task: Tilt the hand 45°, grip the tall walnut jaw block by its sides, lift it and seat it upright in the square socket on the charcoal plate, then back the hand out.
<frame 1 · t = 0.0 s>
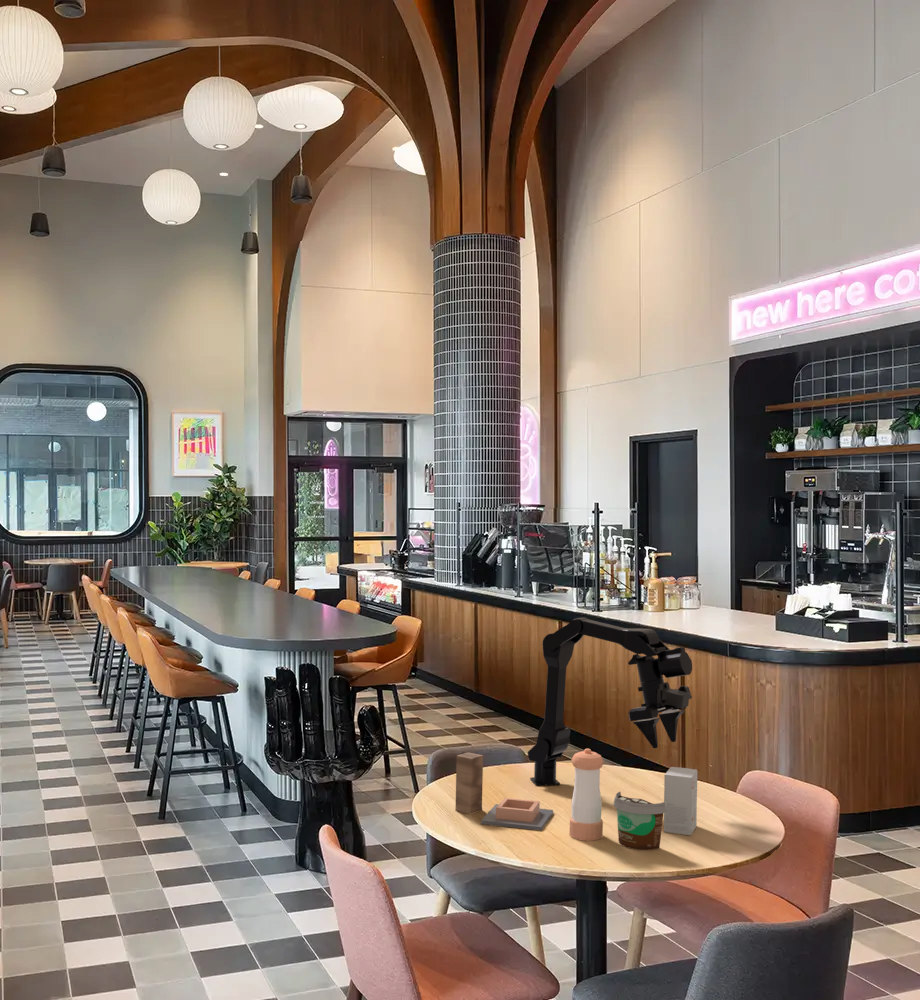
hand: (664, 744, 254), 15 cm above the table, tool pointing down, fingers open, 9 cm apart
walnut jaw block: (468, 810, 249), on the table
food container: (633, 846, 226), on the table
salt shaker: (585, 836, 232), on the table
jaw socket: (517, 818, 244), on the table
small box: (680, 829, 239), on the table
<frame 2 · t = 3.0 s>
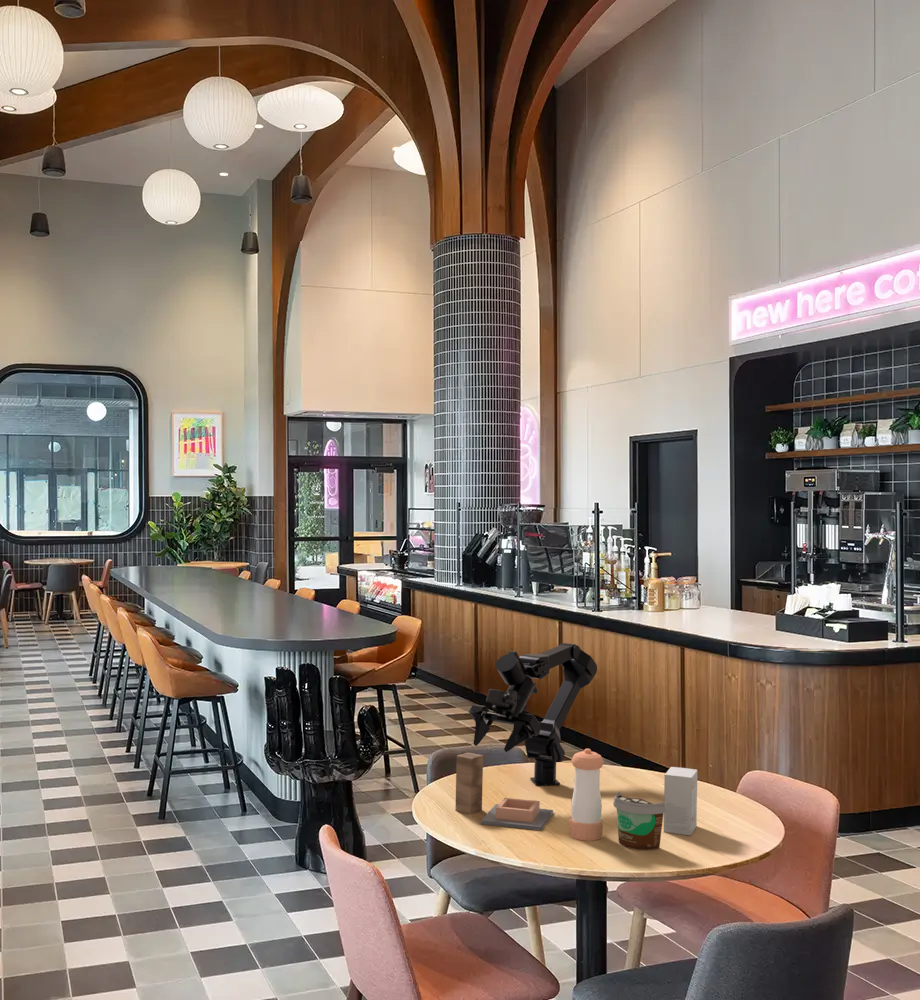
hand: (489, 747, 256), 13 cm above the table, tool tilted 45°, fingers open, 9 cm apart
nothing on the table moved.
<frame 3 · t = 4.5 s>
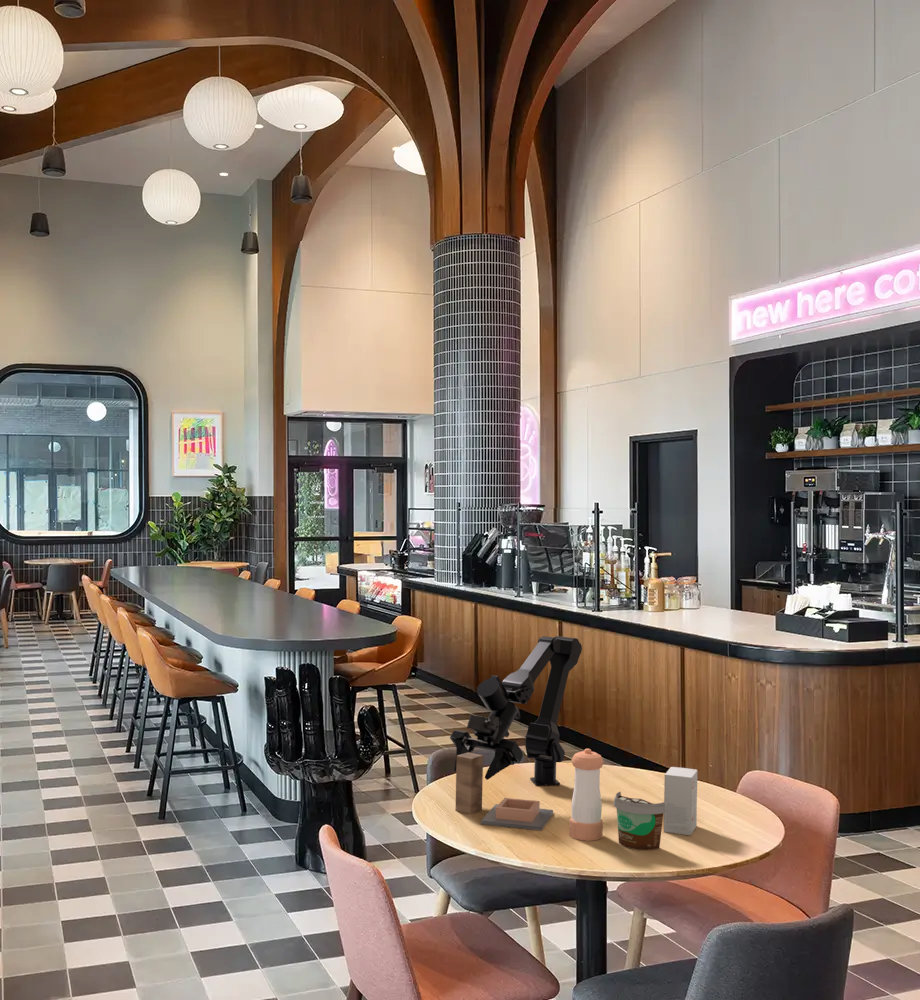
hand: (470, 775, 250), 8 cm above the table, tool tilted 45°, fingers open, 9 cm apart
nothing on the table moved.
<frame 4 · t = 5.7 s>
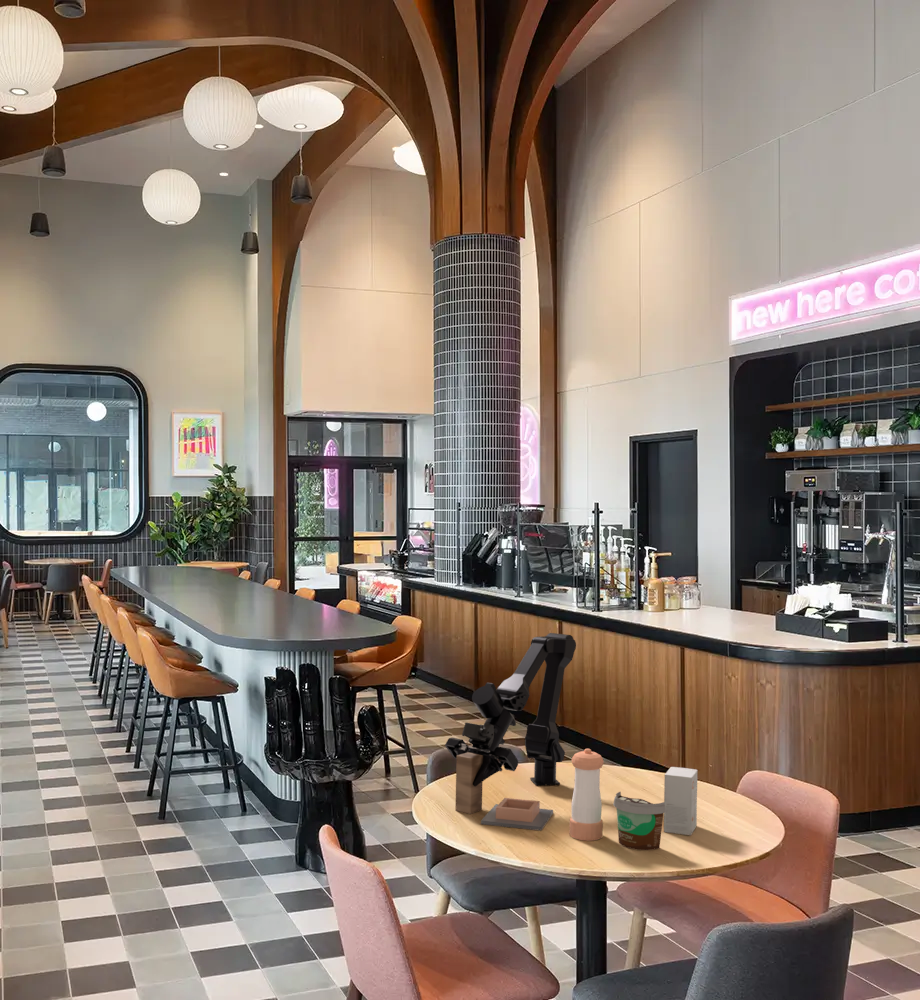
hand: (465, 783, 248), 7 cm above the table, tool tilted 45°, fingers closed on walnut jaw block, 4 cm apart
walnut jaw block: (468, 810, 249), on the table, touching gripper
everything else where it was.
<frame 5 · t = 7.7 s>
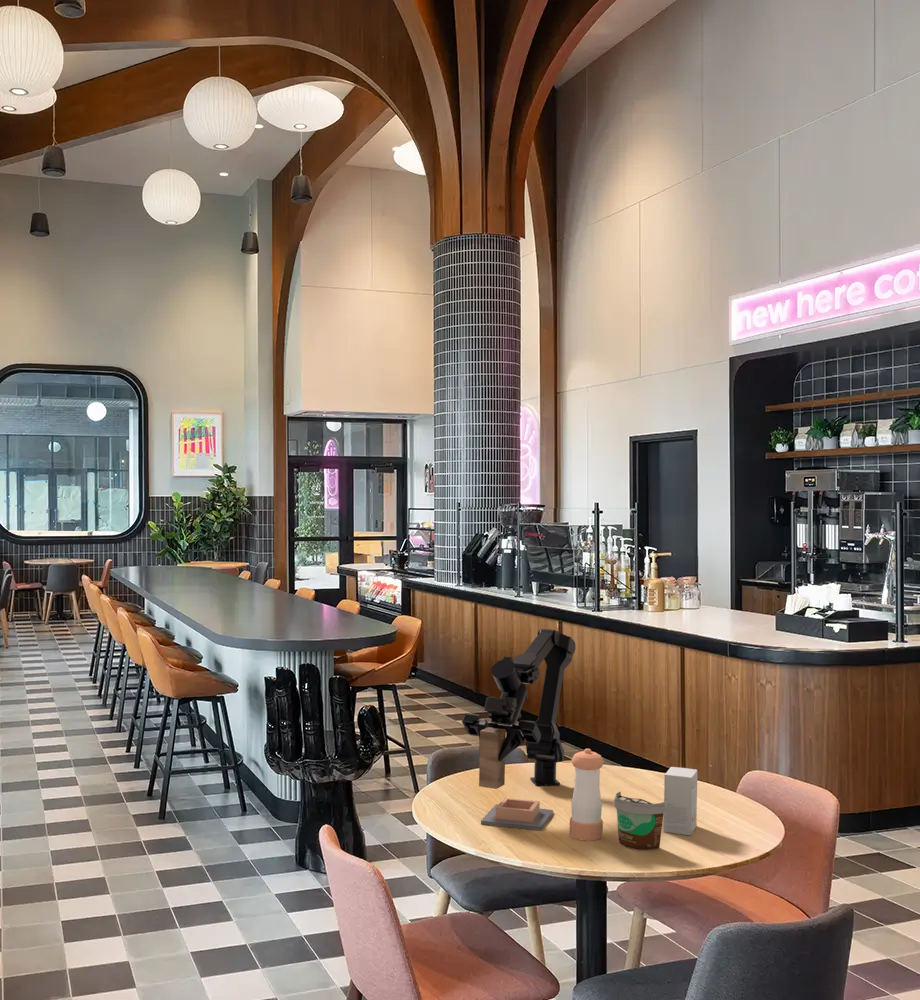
hand: (489, 758, 245), 13 cm above the table, tool tilted 45°, fingers closed on walnut jaw block, 4 cm apart
walnut jaw block: (491, 785, 246), point 7 cm above the table, touching gripper
everything else where it was.
when the fingers open (8 cm above the table, at t = 9.9 s): walnut jaw block stays where it is, resting on jaw socket.
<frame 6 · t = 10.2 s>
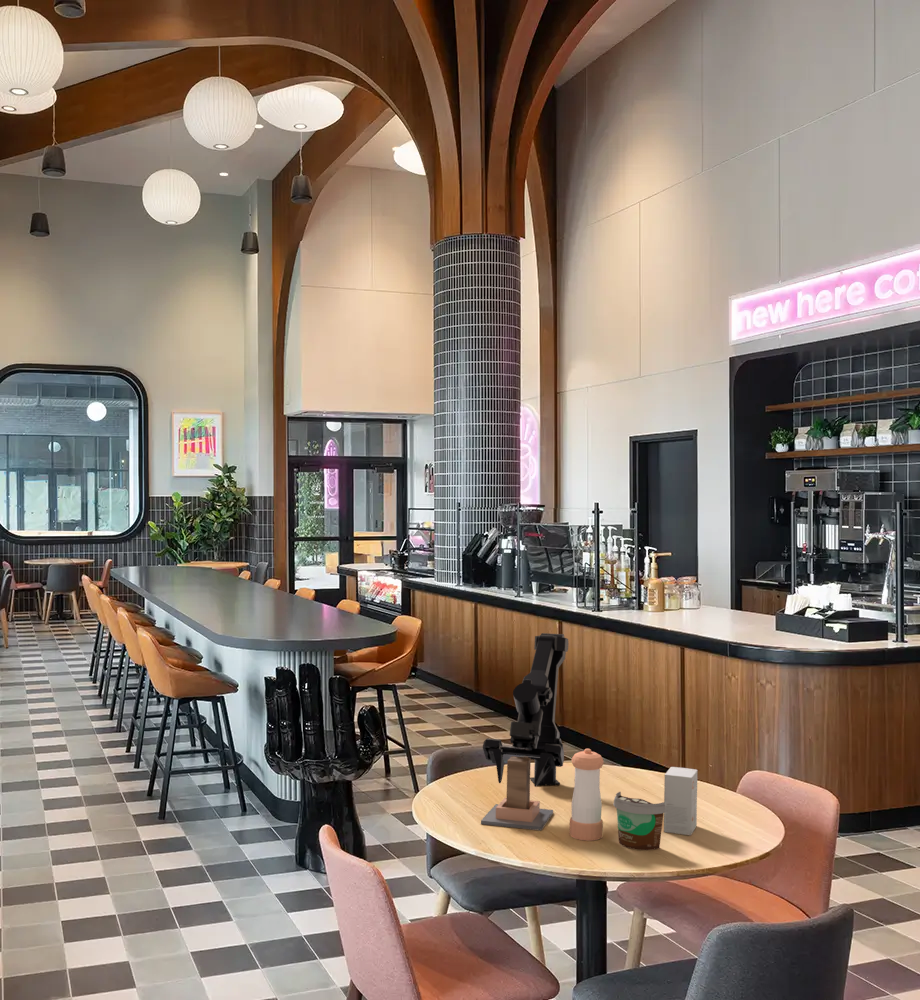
hand: (517, 784, 242), 8 cm above the table, tool tilted 45°, fingers open, 8 cm apart
walnut jaw block: (517, 815, 244), point 1 cm above the table, touching jaw socket
everything else where it was.
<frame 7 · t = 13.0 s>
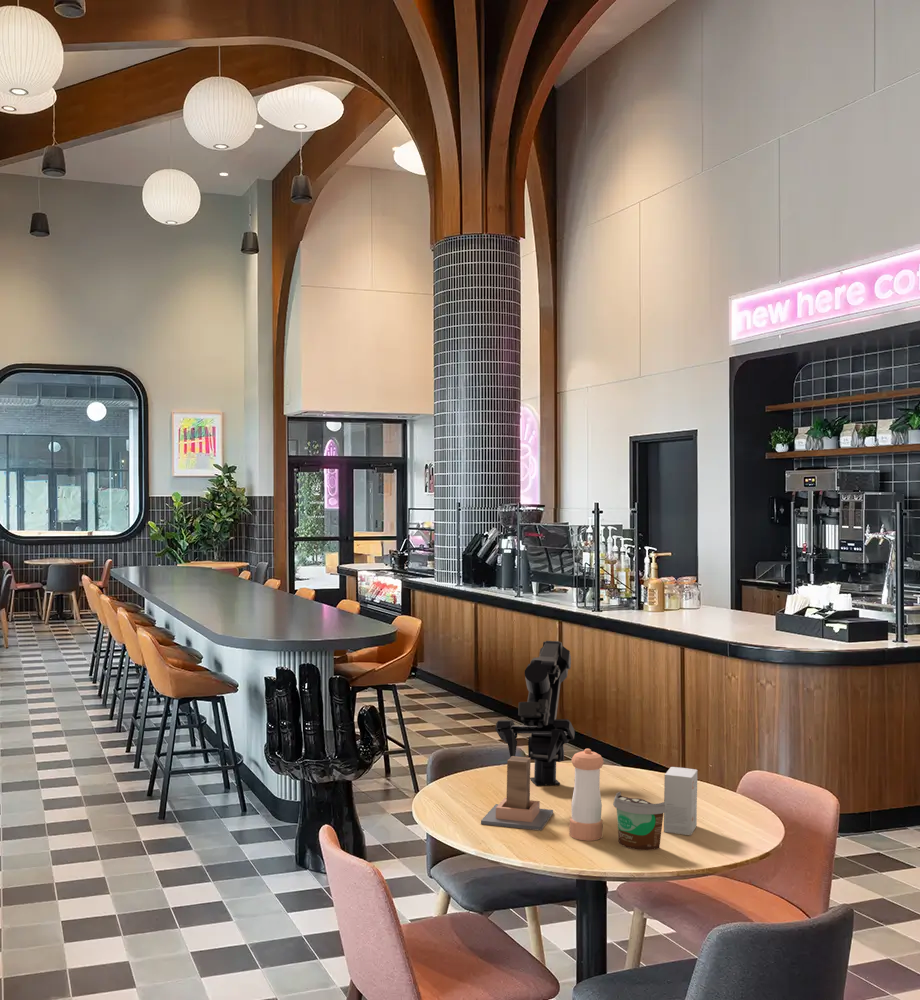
hand: (530, 761, 251), 11 cm above the table, tool tilted 40°, fingers open, 9 cm apart
nothing on the table moved.
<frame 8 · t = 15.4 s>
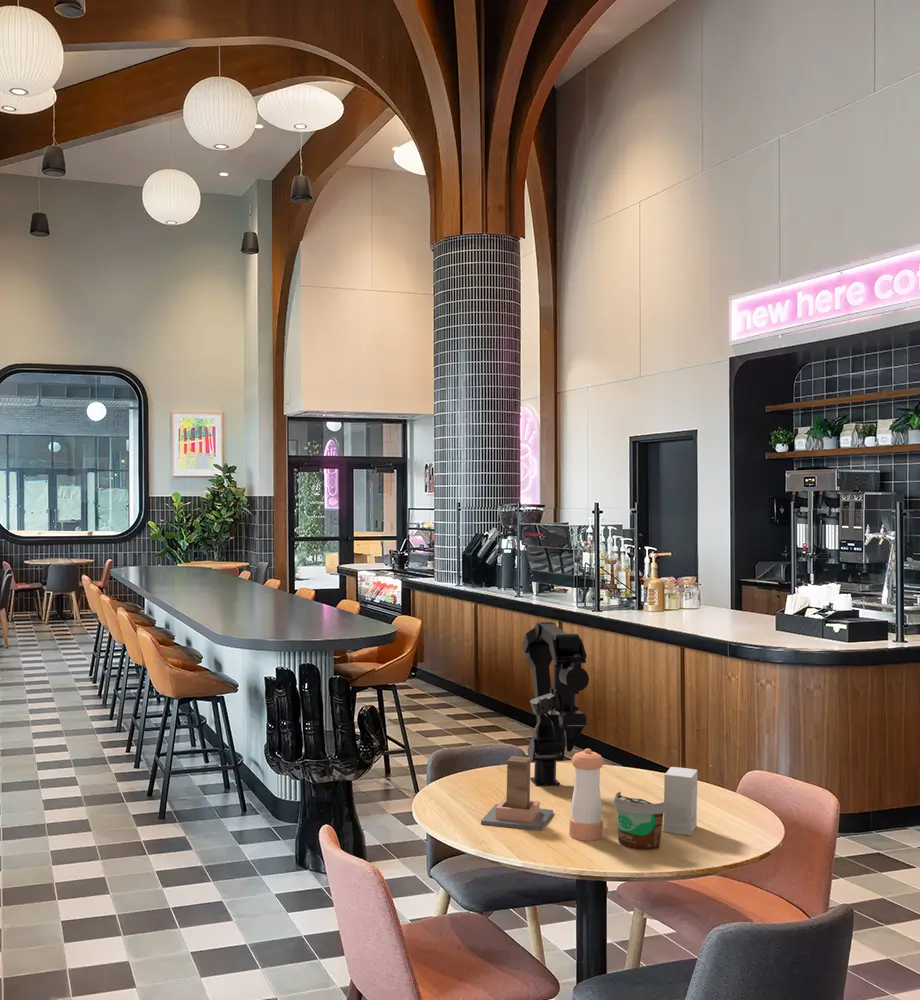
hand: (563, 747, 260), 13 cm above the table, tool pointing down, fingers open, 9 cm apart
nothing on the table moved.
at the end: walnut jaw block 0.0 cm off-centre on the jaw socket, point 0.8 cm above the jaw socket's base; walnut jaw block tilted 0°; the gripper is holding nothing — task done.
